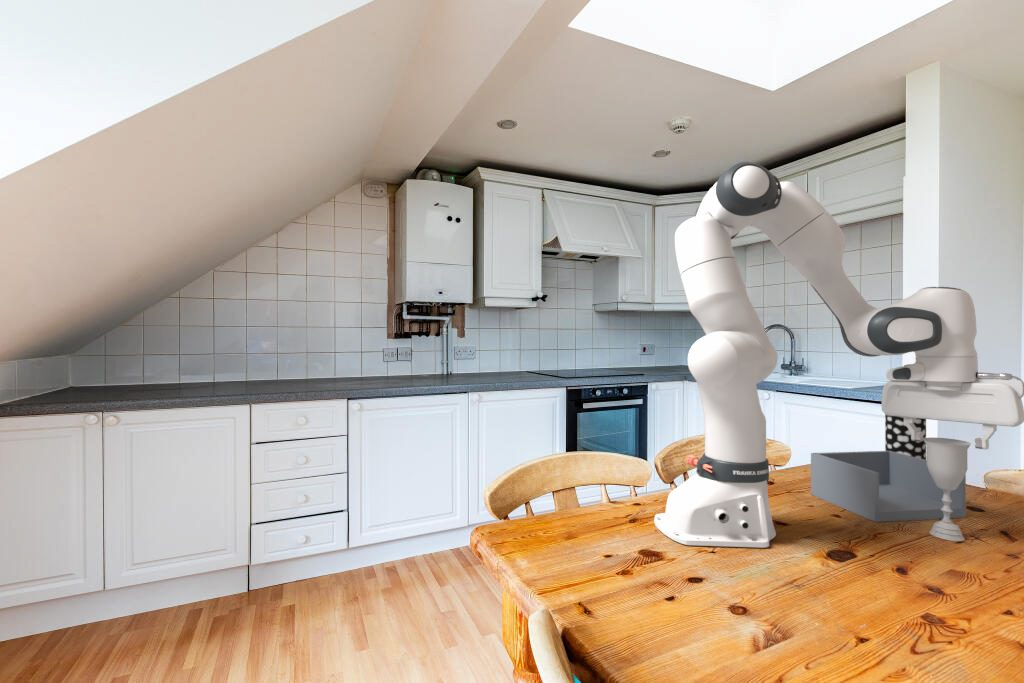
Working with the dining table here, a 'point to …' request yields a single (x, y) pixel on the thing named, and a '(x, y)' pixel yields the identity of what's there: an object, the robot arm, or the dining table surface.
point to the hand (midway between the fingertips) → (948, 444)
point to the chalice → (947, 479)
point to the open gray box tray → (882, 486)
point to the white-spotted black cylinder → (904, 437)
